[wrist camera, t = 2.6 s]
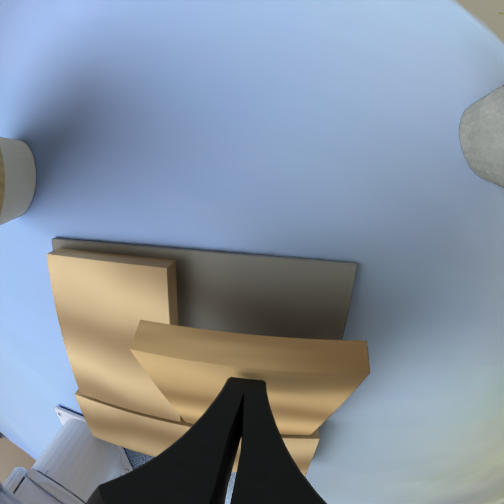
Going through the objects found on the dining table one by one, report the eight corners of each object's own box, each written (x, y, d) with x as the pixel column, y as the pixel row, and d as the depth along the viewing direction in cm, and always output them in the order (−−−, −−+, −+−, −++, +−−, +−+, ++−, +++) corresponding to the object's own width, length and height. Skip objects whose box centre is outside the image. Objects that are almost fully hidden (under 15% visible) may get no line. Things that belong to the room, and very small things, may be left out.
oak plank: (310, 417, 19) (310, 435, 18) (189, 405, 19) (186, 422, 18) (366, 340, 10) (370, 372, 9) (140, 319, 11) (129, 348, 10)
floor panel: (304, 460, 21) (304, 476, 19) (100, 424, 22) (92, 436, 21) (355, 262, 16) (363, 273, 14) (55, 237, 17) (38, 244, 16)
